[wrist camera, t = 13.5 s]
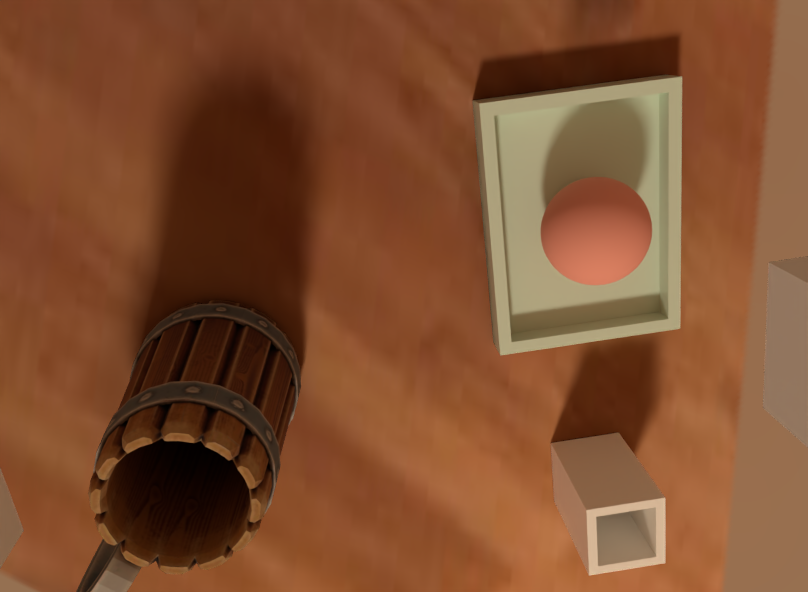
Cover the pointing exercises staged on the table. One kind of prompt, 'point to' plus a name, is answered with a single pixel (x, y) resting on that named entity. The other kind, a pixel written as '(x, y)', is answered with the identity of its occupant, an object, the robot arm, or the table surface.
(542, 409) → the table surface
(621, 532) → the hollow square tube
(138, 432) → the mug
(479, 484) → the table surface
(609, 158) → the tray
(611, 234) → the ball
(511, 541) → the table surface
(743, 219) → the table surface
